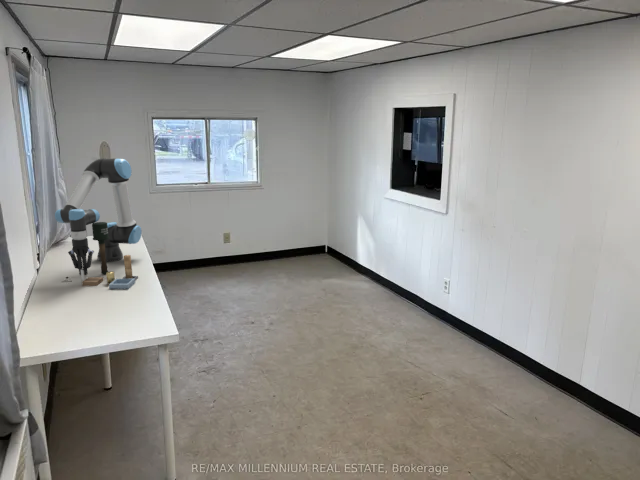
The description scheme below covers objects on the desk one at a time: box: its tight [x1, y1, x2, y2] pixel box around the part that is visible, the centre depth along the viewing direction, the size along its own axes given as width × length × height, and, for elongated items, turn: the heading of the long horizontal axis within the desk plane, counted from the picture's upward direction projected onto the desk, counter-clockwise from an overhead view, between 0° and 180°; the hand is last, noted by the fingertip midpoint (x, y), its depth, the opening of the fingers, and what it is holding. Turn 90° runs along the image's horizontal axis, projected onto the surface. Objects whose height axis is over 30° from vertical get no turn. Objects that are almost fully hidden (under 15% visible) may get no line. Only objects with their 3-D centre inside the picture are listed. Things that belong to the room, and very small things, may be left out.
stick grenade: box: [91, 221, 109, 276], centre depth 271 cm, size 8×9×30 cm
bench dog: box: [105, 270, 116, 285], centre depth 259 cm, size 4×4×6 cm
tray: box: [108, 278, 136, 290], centre depth 255 cm, size 10×10×2 cm
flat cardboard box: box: [81, 276, 104, 287], centre depth 259 cm, size 8×8×2 cm
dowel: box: [123, 254, 134, 279], centre depth 263 cm, size 4×4×14 cm
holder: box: [121, 275, 139, 281], centre depth 265 cm, size 7×7×1 cm
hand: (84, 280), depth 259 cm, fingers closed
